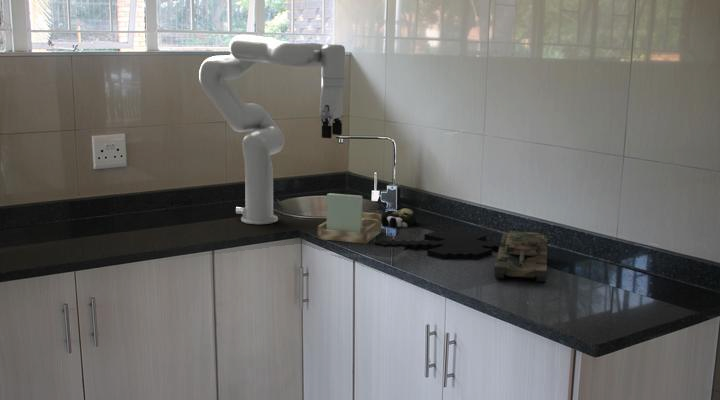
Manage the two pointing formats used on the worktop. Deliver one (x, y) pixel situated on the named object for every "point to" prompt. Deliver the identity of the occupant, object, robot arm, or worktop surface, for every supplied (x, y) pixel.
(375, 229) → the rack
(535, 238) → the toy
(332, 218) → the board
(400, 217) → the toy
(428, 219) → the worktop surface
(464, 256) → the decorative axe
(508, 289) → the worktop surface
